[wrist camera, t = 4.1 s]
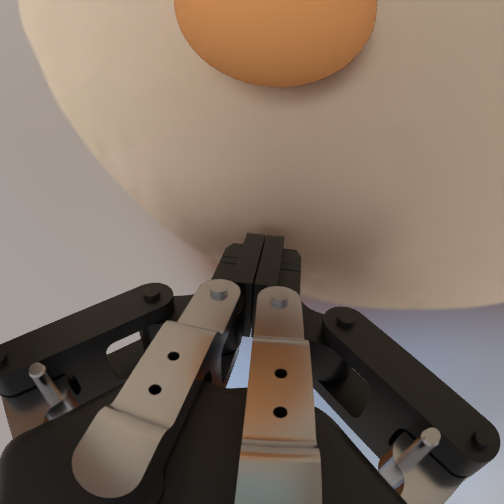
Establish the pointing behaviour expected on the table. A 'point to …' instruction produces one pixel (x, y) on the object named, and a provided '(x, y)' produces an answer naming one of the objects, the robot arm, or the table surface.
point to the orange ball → (276, 37)
